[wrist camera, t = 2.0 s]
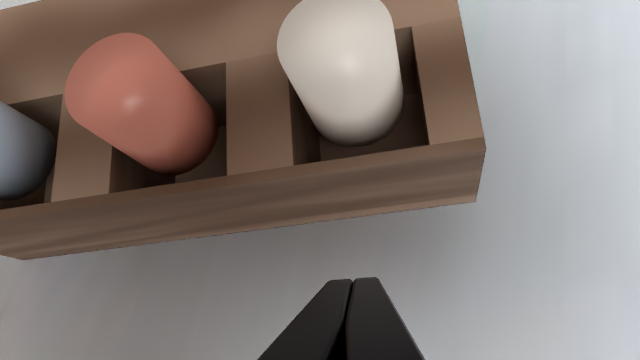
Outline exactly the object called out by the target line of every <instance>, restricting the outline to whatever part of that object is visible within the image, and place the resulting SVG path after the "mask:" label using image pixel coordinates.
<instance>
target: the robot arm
mask: <svg viewBox="0 0 640 360" xmlns="http://www.w3.org/2000/svg"><path fill="white" fill-rule="evenodd" d="M257 360H425V358H424V357H423V355H422V353H421V351H420V350H419V348H418V346H417V345H416V343H415V341H414V339H413V338H412V336H411V334H410V332H409V331H408V329H407V327H406V326H405V324H404V322H403V320H402V319H401V317H400V315H399V313H398V312H397V310H396V308H395V307H394V305H393V303H392V301H391V300H390V298H389V296H388V294H387V293H386V291H385V289H384V288H383V286H382V284H381V282H380V281H379V279H378V278H376V277H371V278H358V279H355V280H354V282H353V281H352V280H351V279H342V280H331V281H329V282H327V283H326V284H325V285H324V287H323V288H322V289H321V290H320V291H319V292H318V293H317V294H316V295H315V297H314V298H313V299H312V300H311V301H310V302H309V303H308V304H307V305H306V306H305V308H304V309H303V310H302V311H301V312H300V313H299V314H298V315H297V316H296V317H295V319H294V320H293V321H292V322H291V323H290V324H289V325H288V326H287V327H286V329H285V330H284V331H283V332H282V333H281V334H280V335H279V336H278V337H277V338H276V340H275V341H274V342H273V343H272V344H271V345H270V346H269V347H268V348H267V350H266V351H265V352H264V353H263V354H262V355H261V356H260V357H259V358H258V359H257Z"/></svg>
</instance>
